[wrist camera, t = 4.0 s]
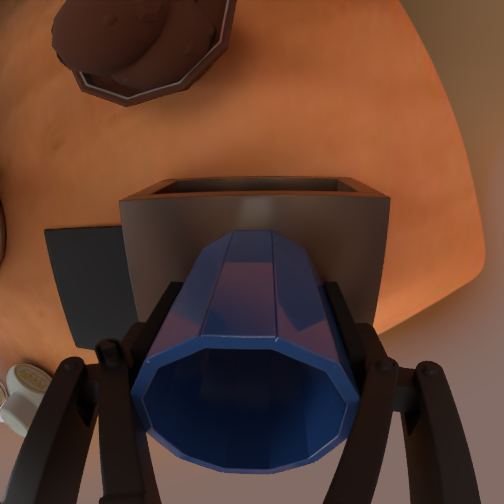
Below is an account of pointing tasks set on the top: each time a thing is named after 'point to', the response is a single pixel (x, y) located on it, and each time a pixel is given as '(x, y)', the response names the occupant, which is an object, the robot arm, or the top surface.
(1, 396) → the coffee can
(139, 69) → the ice cream bowl
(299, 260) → the cup
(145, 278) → the shelf
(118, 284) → the mat
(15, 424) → the air freshener
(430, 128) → the top surface
